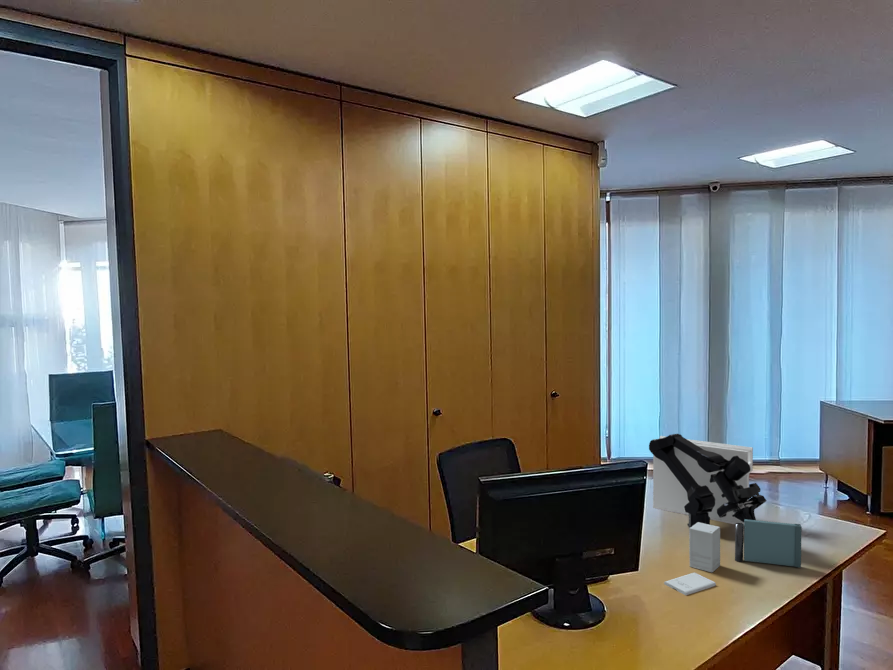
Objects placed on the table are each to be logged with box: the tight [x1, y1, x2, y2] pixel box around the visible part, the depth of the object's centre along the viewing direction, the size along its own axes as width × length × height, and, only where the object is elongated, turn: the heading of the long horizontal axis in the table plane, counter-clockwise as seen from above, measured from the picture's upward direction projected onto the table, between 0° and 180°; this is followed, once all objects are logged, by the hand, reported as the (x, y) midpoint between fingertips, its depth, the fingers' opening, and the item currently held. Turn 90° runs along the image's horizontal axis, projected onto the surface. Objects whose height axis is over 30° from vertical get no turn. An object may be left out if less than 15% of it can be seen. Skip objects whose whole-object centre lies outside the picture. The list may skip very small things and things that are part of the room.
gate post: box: [734, 523, 744, 563], centre depth 205 cm, size 2×2×12 cm
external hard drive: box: [663, 572, 717, 596], centre depth 189 cm, size 2×8×12 cm
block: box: [652, 435, 754, 527], centre depth 248 cm, size 35×8×28 cm, turn 51°
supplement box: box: [688, 522, 721, 573], centre depth 201 cm, size 7×7×13 cm
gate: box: [743, 519, 803, 569], centre depth 201 cm, size 16×2×13 cm, turn 70°
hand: (756, 529), depth 211 cm, fingers closed
